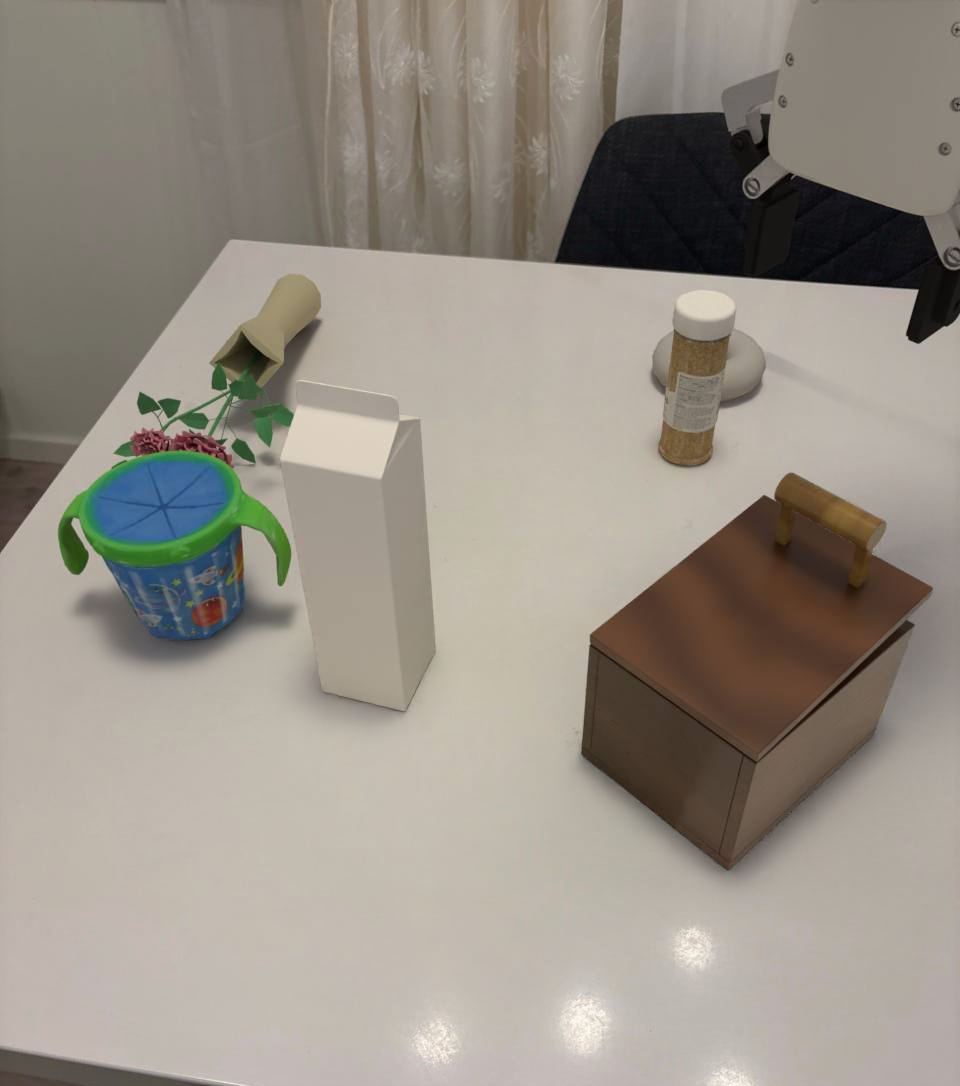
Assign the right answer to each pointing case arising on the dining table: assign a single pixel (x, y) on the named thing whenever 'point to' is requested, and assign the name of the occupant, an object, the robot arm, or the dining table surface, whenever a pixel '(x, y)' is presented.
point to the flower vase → (238, 377)
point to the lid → (765, 615)
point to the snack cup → (172, 539)
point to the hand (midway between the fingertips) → (842, 298)
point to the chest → (726, 751)
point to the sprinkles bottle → (696, 375)
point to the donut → (740, 363)
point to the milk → (361, 540)
